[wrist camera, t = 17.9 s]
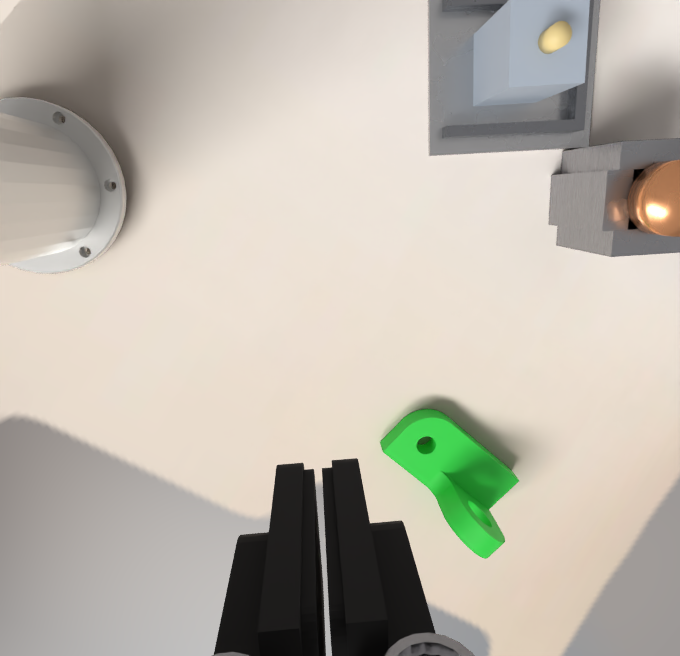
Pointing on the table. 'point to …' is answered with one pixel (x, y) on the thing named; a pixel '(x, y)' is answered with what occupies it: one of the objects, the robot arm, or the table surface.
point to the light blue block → (530, 51)
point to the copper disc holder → (606, 198)
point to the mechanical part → (453, 474)
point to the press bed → (496, 120)
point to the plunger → (656, 199)
